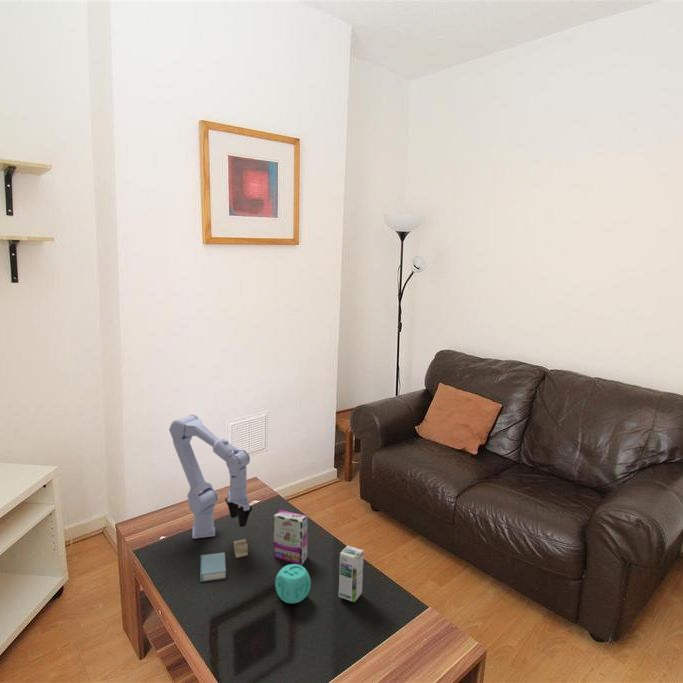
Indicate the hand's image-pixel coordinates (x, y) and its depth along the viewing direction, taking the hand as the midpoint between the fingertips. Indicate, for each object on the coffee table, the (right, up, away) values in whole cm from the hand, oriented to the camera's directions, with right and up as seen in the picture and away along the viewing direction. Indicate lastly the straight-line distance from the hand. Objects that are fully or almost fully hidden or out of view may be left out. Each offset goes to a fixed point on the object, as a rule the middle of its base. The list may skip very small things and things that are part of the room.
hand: (238, 521), depth 173 cm
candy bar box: (+19, -12, -5) cm, 23 cm away
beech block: (+2, -11, -3) cm, 12 cm away
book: (-6, -12, -12) cm, 18 cm away
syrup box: (+40, -15, -22) cm, 48 cm away
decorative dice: (+22, -14, -23) cm, 35 cm away
